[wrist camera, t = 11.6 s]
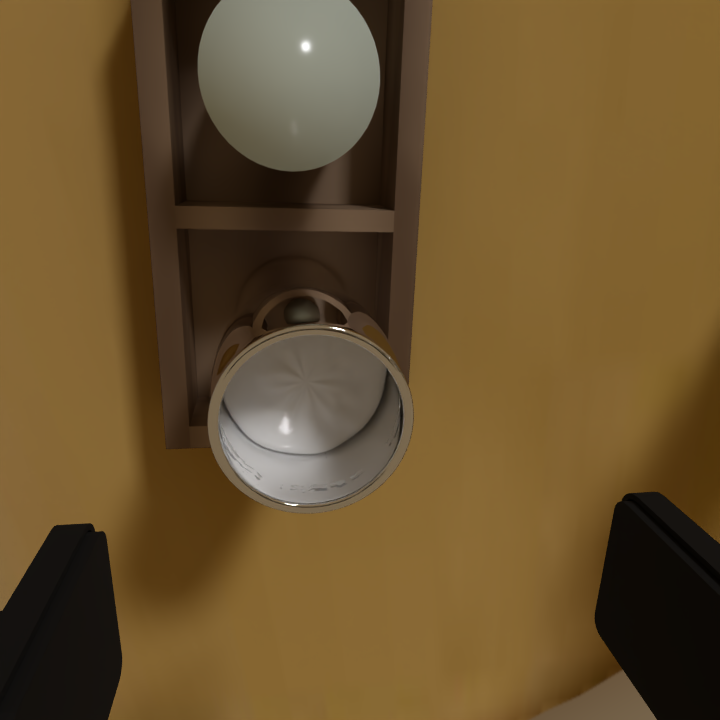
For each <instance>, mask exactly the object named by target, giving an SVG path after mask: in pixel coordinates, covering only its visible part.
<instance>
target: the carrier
mask: <svg viewBox="0 0 720 720" xmlns="http://www.w3.org/2000/svg"><path fill="white" fill-rule="evenodd" d="M220 1H221V0H131V11H132V24H133V36H134V49H135V62H136V74H137V87H138V99H139V112H140V125H141V137H142V150H143V163H144V175H145V188H146V200H147V213H148V226H149V238H150V251H151V264H152V276H153V289H154V301H155V314H156V327H157V339H158V352H159V365H160V377H161V390H162V402H163V415H164V428H165V440H166V449H182V448H209V447H211V445H210V441H209V436H208V426H207V419H208V409H209V396H210V380H211V373H212V367H213V362H214V357H215V354H216V351H217V348H218V345H219V343H220V340H221V338H222V335H223V333H224V331H225V329H226V327H227V326H228V324H229V322H230V321H231V320H232V318H233V317H234V316H235V315H236V313H237V312H238V302H239V298H240V294H241V292H242V289H243V287H244V285H245V284H246V282H247V281H248V279H249V278H250V277H251V276H252V275H253V274H254V273H255V272H256V271H257V270H258V269H259V268H261V267H262V266H264V265H265V264H267V263H269V262H271V261H274V260H277V259H280V258H286V257H301V258H306V259H310V260H313V261H315V262H318V263H320V264H321V265H323V266H325V267H326V268H328V269H329V270H330V271H331V272H332V273H333V274H334V275H335V276H336V277H337V278H338V280H339V281H340V283H341V284H342V286H343V288H344V290H345V293H346V295H348V296H350V297H351V298H353V299H354V300H355V301H357V302H358V303H359V304H360V305H362V306H363V307H364V308H365V309H366V310H367V311H368V312H369V314H370V315H371V316H372V317H373V318H374V320H375V321H376V322H377V323H378V325H379V326H380V327H381V329H382V330H383V332H384V334H385V335H386V337H387V339H388V341H389V343H390V344H391V346H392V348H393V351H394V353H395V355H396V358H397V360H398V363H399V365H400V368H401V371H402V372H403V374H404V376H405V378H406V380H407V383H408V385H409V369H410V353H411V337H412V321H413V305H414V289H415V273H416V257H417V241H418V225H419V209H420V193H421V177H422V161H423V145H424V129H425V112H426V96H427V80H428V64H429V48H430V32H431V16H432V0H349V1H350V2H351V3H352V4H353V5H354V6H355V7H356V8H357V10H358V11H359V13H360V14H361V16H362V17H363V18H364V20H365V22H366V24H367V26H368V28H369V30H370V32H371V34H372V37H373V39H374V42H375V46H376V49H377V53H378V58H379V66H380V88H379V96H378V100H377V105H376V108H375V111H374V114H373V117H372V119H371V121H370V123H369V125H368V127H367V129H366V130H365V132H364V133H363V135H362V136H361V138H360V139H359V140H358V141H357V142H356V144H355V145H354V146H353V147H352V148H351V149H350V150H349V151H347V152H346V153H345V154H344V155H342V156H341V157H339V158H338V159H336V160H335V161H333V162H331V163H329V164H327V165H325V166H322V167H319V168H316V169H312V170H306V171H281V170H276V169H272V168H268V167H266V166H263V165H260V164H258V163H256V162H254V161H252V160H250V159H248V158H247V157H245V156H244V155H243V154H241V153H240V152H238V151H237V150H236V149H235V148H234V147H233V146H232V145H230V144H229V143H228V142H227V140H226V139H225V138H224V137H223V136H222V135H221V133H220V132H219V131H218V129H217V128H216V126H215V125H214V123H213V122H212V120H211V118H210V116H209V114H208V112H207V110H206V107H205V104H204V101H203V99H202V95H201V91H200V86H199V79H198V53H199V45H200V41H201V37H202V34H203V31H204V28H205V26H206V23H207V21H208V19H209V17H210V16H211V14H212V12H213V10H214V9H215V7H216V6H217V5H218V4H219V2H220Z"/></svg>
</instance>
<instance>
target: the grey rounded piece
mask: <svg viewBox="0 0 720 720" xmlns="http://www.w3.org/2000/svg"><path fill="white" fill-rule="evenodd" d="M198 79H199V86H200V91H201V95H202V99H203V101H204V104H205V107H206V110H207V112H208V114H209V116H210V118H211V120H212V122H213V123H214V125H215V126H216V128H217V129H218V131H219V132H220V133H221V135H222V136H223V137H224V138H225V139H226V140H227V142H228V143H229V144H230V145H232V146H233V147H234V148H235V149H236V150H237V151H238V152H240V153H241V154H243V155H244V156H245V157H247V158H248V159H250V160H252V161H254V162H256V163H258V164H260V165H263V166H266V167H268V168H272V169H276V170H281V171H306V170H312V169H316V168H319V167H322V166H325V165H327V164H329V163H331V162H333V161H335V160H336V159H338V158H339V157H341V156H342V155H344V154H345V153H346V152H347V151H349V150H350V149H351V148H352V147H353V146H354V145H355V144H356V142H357V141H358V140H359V139H360V138H361V136H362V135H363V133H364V132H365V130H366V129H367V127H368V125H369V123H370V121H371V119H372V117H373V114H374V111H375V108H376V105H377V100H378V96H379V88H380V66H379V58H378V53H377V49H376V46H375V42H374V39H373V37H372V34H371V32H370V30H369V28H368V26H367V24H366V22H365V20H364V18H363V17H362V16H361V14H360V13H359V11H358V10H357V8H356V7H355V6H354V5H353V4H352V3H351V2H350V1H349V0H221V1H220V2H219V4H218V5H217V6H216V7H215V9H214V10H213V12H212V14H211V16H210V17H209V19H208V21H207V23H206V26H205V28H204V31H203V34H202V37H201V41H200V45H199V53H198Z"/></svg>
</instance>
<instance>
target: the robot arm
mask: <svg viewBox="0 0 720 720" xmlns="http://www.w3.org/2000/svg"><path fill="white" fill-rule="evenodd" d="M595 624H596V628H597V631H598V633H599V635H600V637H601V638H602V640H603V641H604V643H605V644H606V646H607V647H608V648H609V650H610V651H611V653H612V654H613V656H614V657H615V659H616V660H617V662H618V663H619V665H620V666H621V667H622V669H623V670H624V672H625V673H626V675H627V676H628V678H629V679H630V680H631V682H632V684H633V685H634V686H635V688H636V689H637V691H638V692H639V694H640V695H641V697H642V698H643V700H644V701H645V702H646V704H647V705H648V707H649V708H650V710H651V711H652V713H653V714H654V716H655V717H656V719H657V720H720V544H719V543H718V542H717V541H716V540H714V539H713V538H712V537H711V536H710V535H709V534H707V533H706V532H705V531H704V530H703V529H702V528H700V527H699V526H698V525H697V524H696V523H695V522H694V521H692V520H691V519H690V518H689V517H688V516H687V515H685V514H684V513H683V512H682V511H681V510H680V509H678V508H677V507H676V506H675V505H674V504H673V503H671V502H670V501H669V500H668V499H667V498H666V497H665V496H663V495H662V494H660V493H659V492H644V493H629V494H626V495H625V496H624V497H623V499H622V501H621V502H618V503H617V504H616V506H615V509H614V514H613V519H612V524H611V530H610V535H609V541H608V546H607V551H606V557H605V562H604V567H603V573H602V578H601V583H600V589H599V594H598V599H597V605H596V610H595ZM121 669H122V652H121V644H120V636H119V629H118V621H117V614H116V606H115V599H114V591H113V584H112V576H111V569H110V561H109V553H108V546H107V539H106V535H105V532H103V531H100V532H95V529H94V527H93V525H92V524H91V523H88V524H70V525H56V526H54V527H53V528H52V530H51V531H50V533H49V535H48V536H47V538H46V540H45V541H44V543H43V545H42V546H41V548H40V550H39V551H38V553H37V554H36V556H35V558H34V559H33V561H32V563H31V564H30V566H29V568H28V569H27V571H26V573H25V574H24V576H23V578H22V579H21V581H20V583H19V584H18V586H17V588H16V589H15V591H14V593H13V594H12V596H11V598H10V599H9V601H8V603H7V604H6V606H5V608H4V609H3V611H0V720H108V717H109V714H110V710H111V707H112V704H113V700H114V697H115V693H116V690H117V687H118V683H119V680H120V676H121Z"/></svg>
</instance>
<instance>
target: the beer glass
mask: <svg viewBox="0 0 720 720" xmlns="http://www.w3.org/2000/svg"><path fill="white" fill-rule="evenodd" d="M413 421H414V409H413V400H412V395H411V391H410V388H409V385H408V383H407V380H406V378H405V376H404V374H403V372H402V371H401V368H400V365H399V363H398V360H397V358H396V355H395V353H394V351H393V348H392V346H391V344H390V343H389V341H388V339H387V337H386V335H385V334H384V332H383V330H382V329H381V327H380V326H379V325H378V323H377V322H376V321H375V320H374V318H373V317H372V316H371V315H370V314H369V312H368V311H367V310H366V309H365V308H364V307H363V306H362V305H360V304H359V303H358V302H357V301H355V300H354V299H353V298H351V297H350V296H348V295H346V293H345V290H344V288H343V286H342V284H341V283H340V281H339V280H338V278H337V277H336V276H335V275H334V274H333V273H332V272H331V271H330V270H329V269H328V268H326V267H325V266H323V265H321V264H320V263H318V262H315V261H313V260H310V259H306V258H301V257H286V258H280V259H277V260H274V261H271V262H269V263H267V264H265V265H264V266H262V267H261V268H259V269H258V270H257V271H256V272H255V273H254V274H253V275H252V276H251V277H250V278H249V279H248V281H247V282H246V284H245V285H244V287H243V289H242V292H241V294H240V298H239V302H238V312H237V313H236V315H235V316H234V317H233V318H232V320H231V321H230V322H229V324H228V326H227V327H226V329H225V331H224V333H223V335H222V338H221V340H220V343H219V345H218V348H217V351H216V354H215V357H214V362H213V367H212V373H211V380H210V396H209V409H208V419H207V426H208V436H209V441H210V445H211V449H212V452H213V454H214V457H215V459H216V461H217V463H218V465H219V467H220V468H221V470H222V471H223V473H224V474H225V475H226V477H227V478H228V479H229V480H230V481H231V482H232V484H233V485H234V486H236V487H237V488H238V489H239V490H240V491H241V492H243V493H244V494H245V495H247V496H248V497H250V498H251V499H253V500H255V501H257V502H259V503H261V504H263V505H265V506H268V507H271V508H274V509H277V510H281V511H285V512H291V513H305V514H306V513H321V512H327V511H332V510H336V509H340V508H343V507H346V506H348V505H351V504H353V503H355V502H357V501H359V500H361V499H363V498H365V497H366V496H368V495H369V494H371V493H372V492H373V491H375V490H376V489H377V488H379V487H380V486H381V485H382V484H383V483H384V482H385V481H386V480H387V479H388V478H389V477H390V476H391V475H392V473H393V472H394V471H395V469H396V468H397V467H398V465H399V464H400V462H401V460H402V459H403V457H404V455H405V452H406V450H407V448H408V445H409V442H410V439H411V435H412V430H413Z"/></svg>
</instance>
